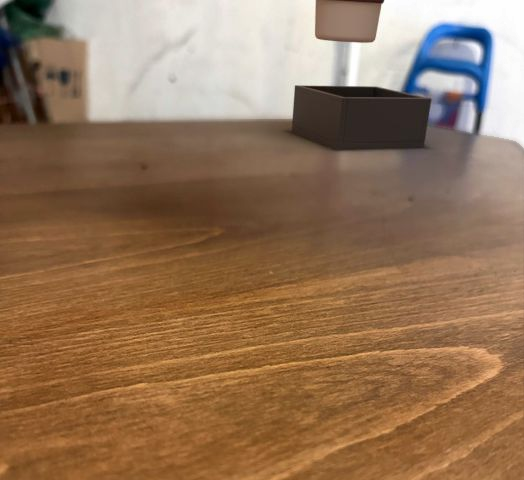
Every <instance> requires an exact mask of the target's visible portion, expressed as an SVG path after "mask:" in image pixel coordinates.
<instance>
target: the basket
mask: <svg viewBox="0 0 524 480" xmlns="http://www.w3.org/2000/svg"><path fill="white" fill-rule="evenodd" d="M293 91H294V92H293V93H294V94H293V106H292V121H291V133H293V134H294V135H298V136H299V137H302V138H305V139H307V140H311V141H312V142H315V143H318V144H319V145H323V146H325V147H328V148H330V149H333V150H335V151H362V150H397V149H400V150H402V149H424V148H425V142H426V136H427V130H428V124H429V116H430V112H431V105H432V98H430V97H425V96H421V95H417V94H412V93H408V92H404V91H399V90H394V89H389V88H386V87H382V86H373V85H372V86H368V85H367V86H365V85H305V84H304V85H302V84H299V85H294V90H293Z"/></svg>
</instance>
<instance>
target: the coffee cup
mask: <svg viewBox="0 0 524 480" xmlns="http://www.w3.org/2000/svg"><path fill="white" fill-rule="evenodd" d="M384 3H385V0H315V8H314V9H315V11H314V12H315V14H314V36H315V38H316V39H317V40H321V41H327V42H328V41H329V42H339V43H341V42H342V43H358V44H359V43H360V44H361V43H362V44H368V43H374V42H375V41H376V38H377V34H378V27H379V26H378V25H379V23H380V22H379V21H380V15H381V10H382V5H383V4H384Z"/></svg>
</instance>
